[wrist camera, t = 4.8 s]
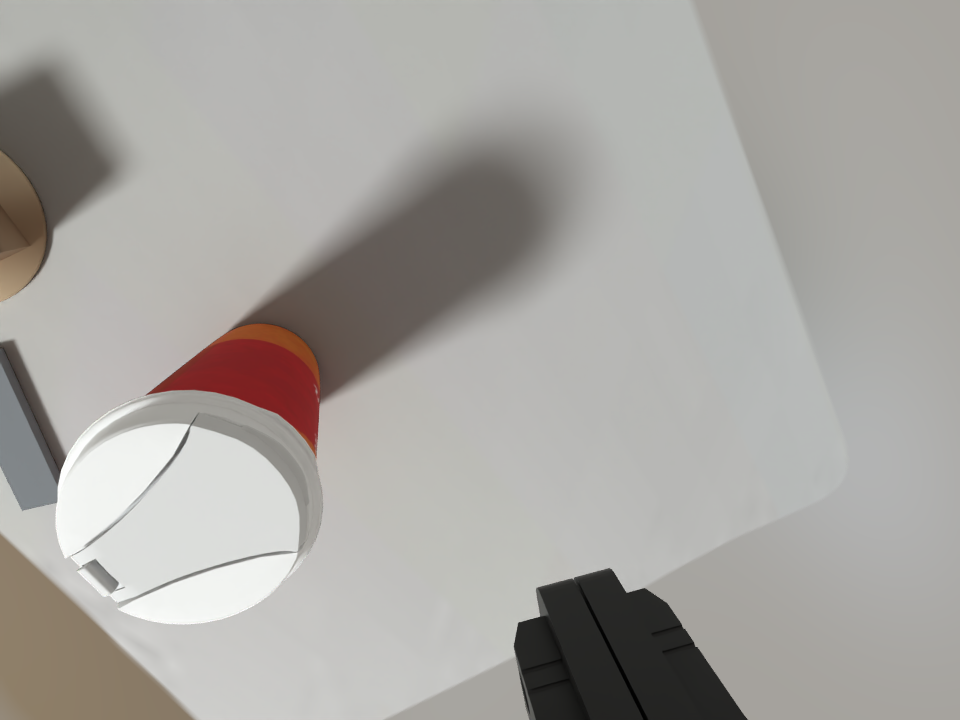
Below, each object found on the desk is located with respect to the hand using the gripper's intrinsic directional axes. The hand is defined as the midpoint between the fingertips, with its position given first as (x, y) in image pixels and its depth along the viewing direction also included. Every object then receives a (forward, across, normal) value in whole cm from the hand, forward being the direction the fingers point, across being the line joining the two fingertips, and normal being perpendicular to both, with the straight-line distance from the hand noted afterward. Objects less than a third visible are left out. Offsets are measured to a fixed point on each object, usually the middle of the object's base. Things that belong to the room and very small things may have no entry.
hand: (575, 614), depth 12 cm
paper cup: (+21, +10, 0) cm, 23 cm away
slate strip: (+21, +22, 0) cm, 30 cm away
